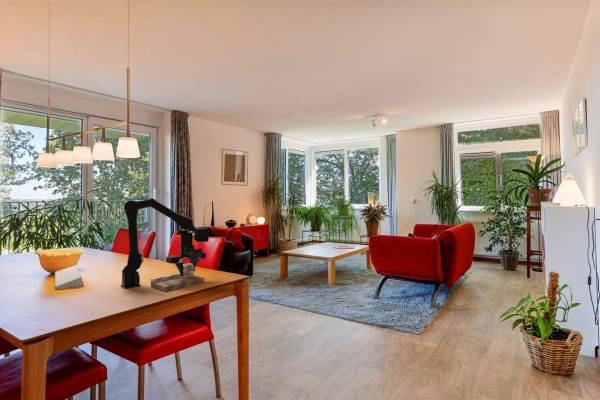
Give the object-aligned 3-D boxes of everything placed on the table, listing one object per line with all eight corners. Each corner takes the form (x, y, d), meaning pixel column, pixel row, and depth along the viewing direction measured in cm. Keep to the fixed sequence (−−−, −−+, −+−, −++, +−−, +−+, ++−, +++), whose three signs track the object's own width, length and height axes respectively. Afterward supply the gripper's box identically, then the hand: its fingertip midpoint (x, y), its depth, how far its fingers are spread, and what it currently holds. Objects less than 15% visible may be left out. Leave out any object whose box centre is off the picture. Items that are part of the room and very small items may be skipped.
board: (164, 291, 146) (164, 283, 146) (150, 286, 155) (150, 278, 155) (204, 282, 161) (204, 275, 161) (189, 277, 170) (189, 271, 170)
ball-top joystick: (190, 280, 157) (190, 267, 157) (180, 277, 163) (180, 264, 163) (199, 278, 161) (199, 265, 161) (189, 275, 167) (189, 263, 167)
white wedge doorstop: (59, 296, 151) (84, 286, 156) (55, 286, 150) (81, 277, 155) (58, 280, 178) (79, 272, 184) (55, 272, 177) (76, 264, 183)
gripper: (177, 247, 151) (177, 281, 151) (212, 242, 165) (212, 273, 165) (165, 244, 158) (165, 277, 159) (200, 240, 172) (200, 270, 173)
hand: (187, 274), depth 164 cm, fingers closed on ball-top joystick, 5 cm apart
